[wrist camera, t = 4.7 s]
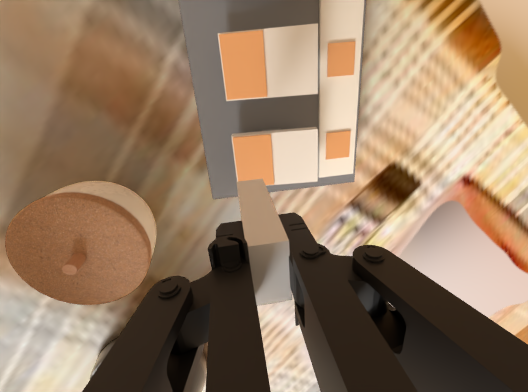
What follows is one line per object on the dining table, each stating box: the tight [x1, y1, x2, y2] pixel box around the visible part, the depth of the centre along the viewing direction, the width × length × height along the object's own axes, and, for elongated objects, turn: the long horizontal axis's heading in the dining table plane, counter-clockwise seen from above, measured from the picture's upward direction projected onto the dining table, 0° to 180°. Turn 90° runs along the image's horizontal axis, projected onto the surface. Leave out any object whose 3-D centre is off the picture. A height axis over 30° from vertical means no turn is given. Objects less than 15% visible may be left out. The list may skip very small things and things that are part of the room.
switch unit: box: [178, 0, 366, 199], centre depth 23 cm, size 22×14×5 cm, turn 4°
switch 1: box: [218, 23, 318, 101], centre depth 19 cm, size 4×7×1 cm, turn 94°
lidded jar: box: [5, 181, 156, 305], centre depth 25 cm, size 11×11×9 cm
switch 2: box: [231, 127, 318, 186], centre depth 22 cm, size 4×7×1 cm, turn 95°
